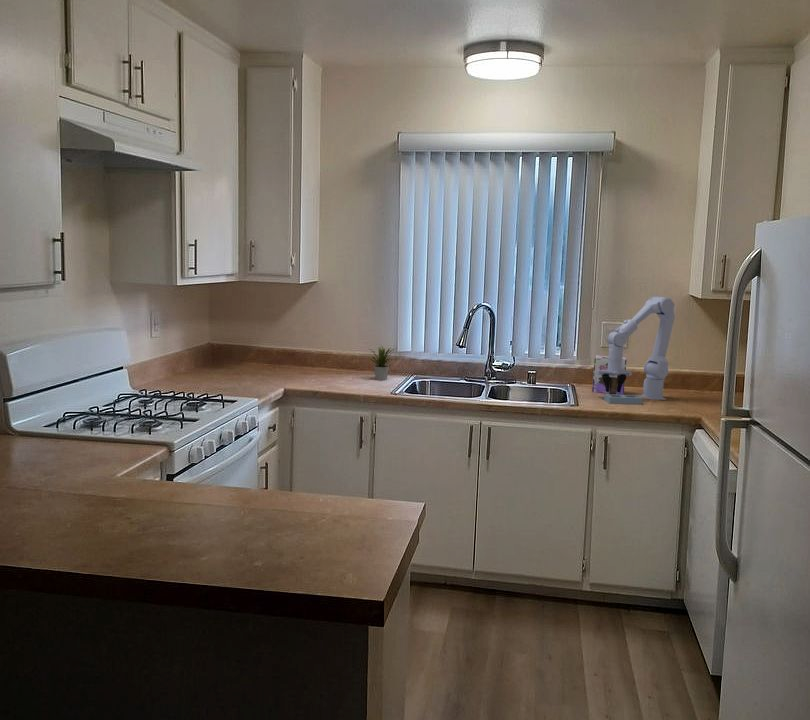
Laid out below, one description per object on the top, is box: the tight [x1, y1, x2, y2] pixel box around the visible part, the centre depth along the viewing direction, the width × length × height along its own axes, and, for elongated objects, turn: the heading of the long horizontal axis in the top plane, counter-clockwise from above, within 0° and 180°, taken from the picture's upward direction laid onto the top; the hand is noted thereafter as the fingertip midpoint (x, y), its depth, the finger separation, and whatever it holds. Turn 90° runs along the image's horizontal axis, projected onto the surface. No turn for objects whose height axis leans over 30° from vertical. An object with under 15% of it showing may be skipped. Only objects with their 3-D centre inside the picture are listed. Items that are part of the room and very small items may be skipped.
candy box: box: [591, 354, 628, 395], centre depth 358 cm, size 14×6×16 cm, turn 73°
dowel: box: [609, 377, 617, 395], centre depth 343 cm, size 3×3×9 cm
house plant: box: [369, 345, 395, 381], centre depth 372 cm, size 14×14×16 cm
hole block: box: [603, 393, 644, 405], centre depth 336 cm, size 7×14×3 cm, turn 94°
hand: (612, 391), depth 343 cm, fingers open, 4 cm apart
